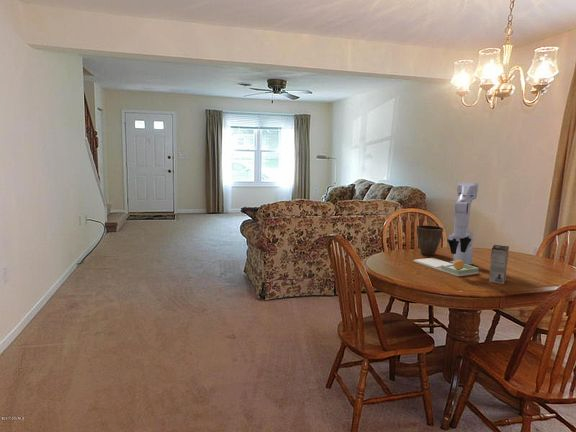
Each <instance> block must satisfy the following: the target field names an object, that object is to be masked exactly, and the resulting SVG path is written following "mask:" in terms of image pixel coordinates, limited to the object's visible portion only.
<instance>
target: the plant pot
mask: <svg viewBox="0 0 576 432" xmlns="http://www.w3.org/2000/svg"><path fill="white" fill-rule="evenodd" d="M443 232H444V228H443V227H441V226H436V225H427V224H426V225H423V224H422V225H416V236H417V241H418V242H417V243H418V247H419V250H420V253H421V254H422V255H425V256H434V255H435V253H436V251H437V249H438V247H439V246H440V245H439V244H440V242H441V239H442V236H443Z"/></svg>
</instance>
